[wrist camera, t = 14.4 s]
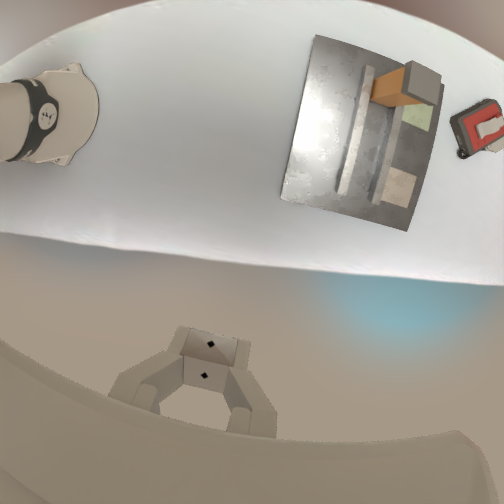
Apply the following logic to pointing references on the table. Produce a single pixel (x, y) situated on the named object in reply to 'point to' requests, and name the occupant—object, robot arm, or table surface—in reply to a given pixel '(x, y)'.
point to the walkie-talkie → (479, 128)
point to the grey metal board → (357, 140)
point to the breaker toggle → (407, 86)
